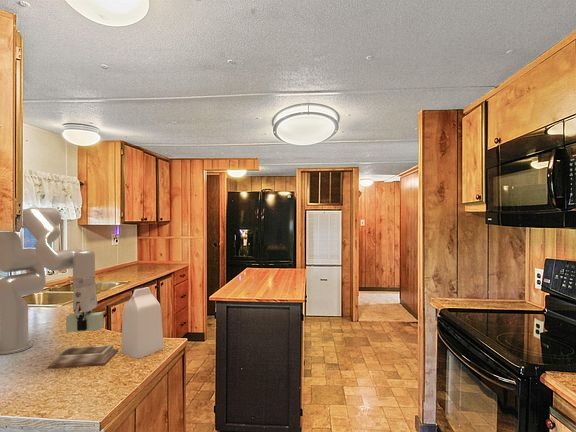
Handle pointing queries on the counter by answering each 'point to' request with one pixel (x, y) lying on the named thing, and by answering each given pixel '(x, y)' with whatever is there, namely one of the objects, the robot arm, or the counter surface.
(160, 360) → the counter surface
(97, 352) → the brown rectangular tray
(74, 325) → the bar
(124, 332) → the milk
